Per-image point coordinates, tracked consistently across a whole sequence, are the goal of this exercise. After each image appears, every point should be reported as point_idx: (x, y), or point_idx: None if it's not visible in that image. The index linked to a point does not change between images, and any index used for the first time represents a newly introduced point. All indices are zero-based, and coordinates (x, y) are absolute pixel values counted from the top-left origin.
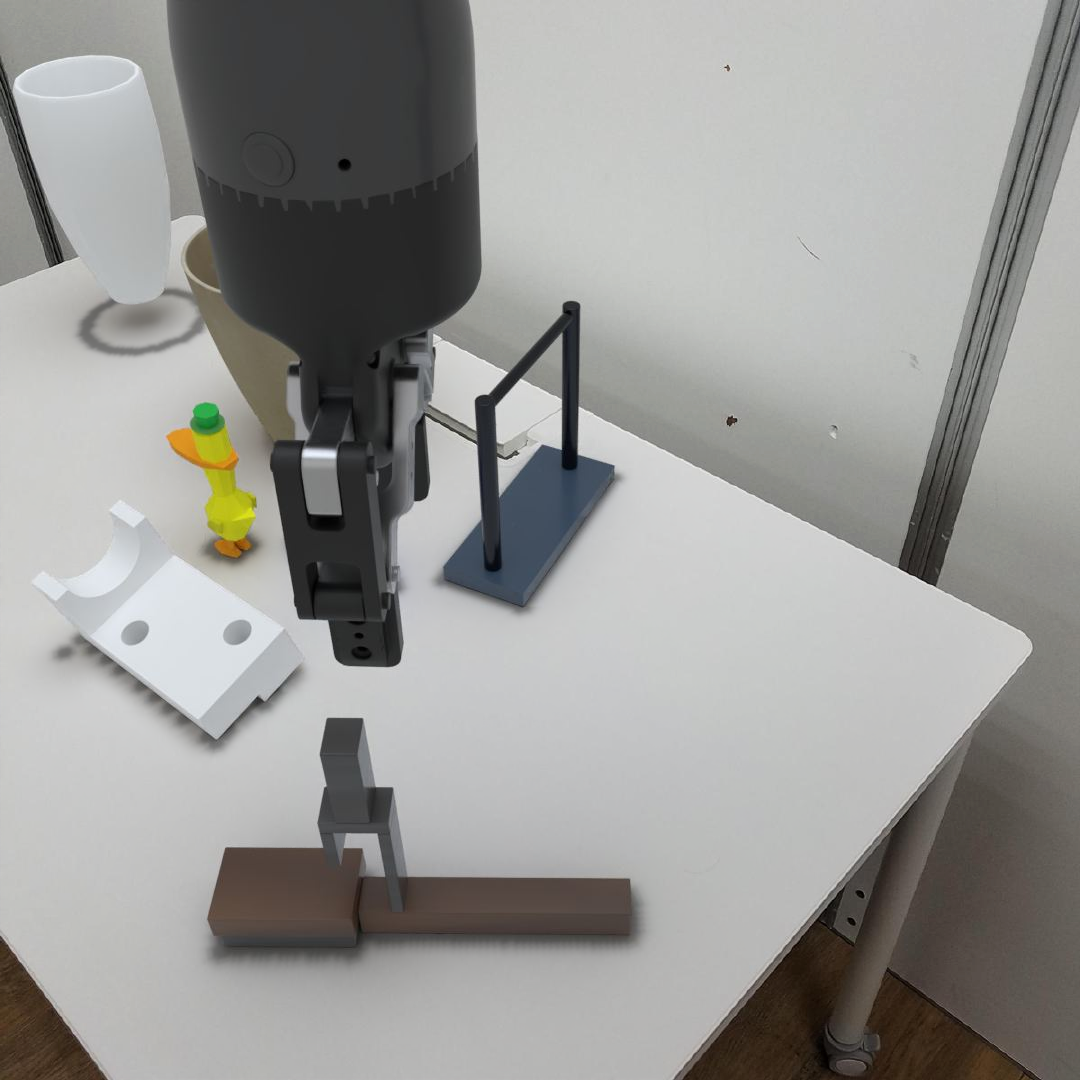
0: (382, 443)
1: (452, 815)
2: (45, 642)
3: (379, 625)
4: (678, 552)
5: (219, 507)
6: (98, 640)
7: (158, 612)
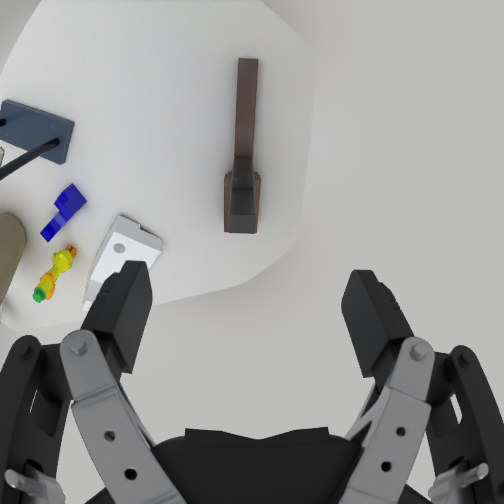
0: (408, 488)
1: (192, 137)
2: None
3: (407, 322)
4: (42, 58)
5: (63, 268)
6: None
7: None
